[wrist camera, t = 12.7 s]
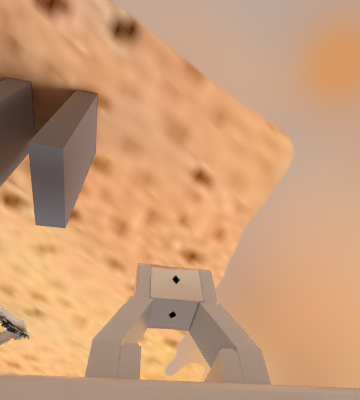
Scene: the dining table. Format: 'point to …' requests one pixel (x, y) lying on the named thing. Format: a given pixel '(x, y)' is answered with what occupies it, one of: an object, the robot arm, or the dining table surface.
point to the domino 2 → (63, 158)
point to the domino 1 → (15, 124)
